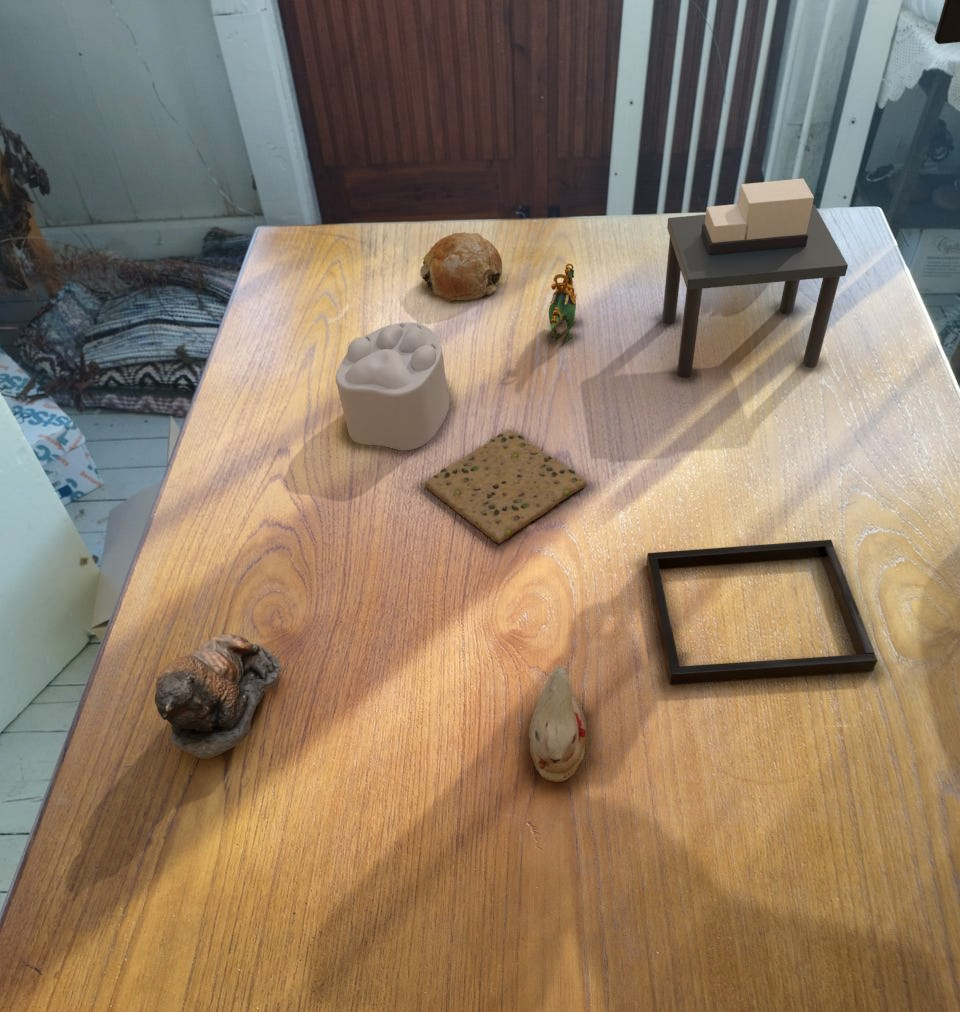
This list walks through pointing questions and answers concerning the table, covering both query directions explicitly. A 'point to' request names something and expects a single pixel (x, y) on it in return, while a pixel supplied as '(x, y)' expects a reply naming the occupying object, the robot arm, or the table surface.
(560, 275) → the figurine
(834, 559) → the black rectangular frame
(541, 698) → the chocolate bunny
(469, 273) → the bread roll
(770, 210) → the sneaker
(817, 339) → the small grey table
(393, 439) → the lumpy-topped squat cylinder
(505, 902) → the table surface
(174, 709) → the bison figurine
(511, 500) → the cookie
